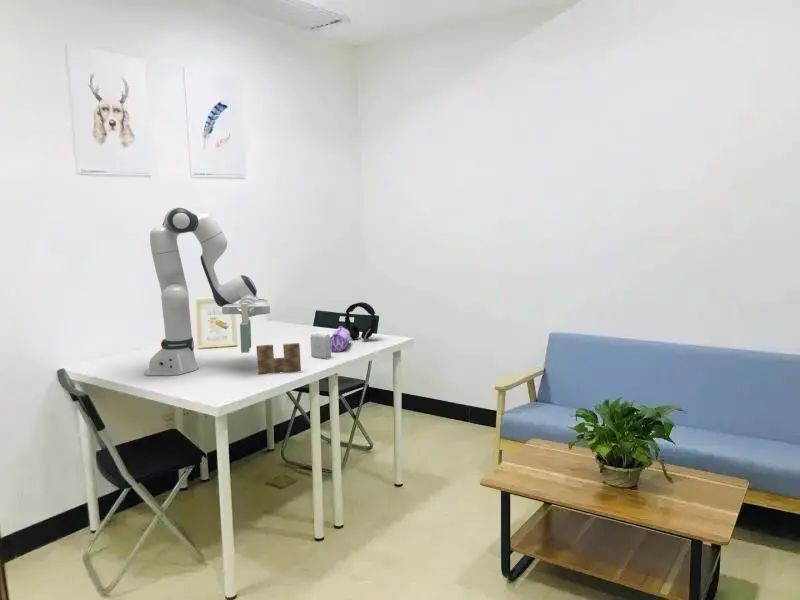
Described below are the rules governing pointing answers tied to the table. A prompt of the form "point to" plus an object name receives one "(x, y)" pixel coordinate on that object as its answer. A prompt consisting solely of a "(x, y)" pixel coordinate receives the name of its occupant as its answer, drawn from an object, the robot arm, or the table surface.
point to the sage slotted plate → (245, 329)
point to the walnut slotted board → (278, 359)
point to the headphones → (353, 328)
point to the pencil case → (340, 339)
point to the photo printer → (320, 344)
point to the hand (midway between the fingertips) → (244, 311)
